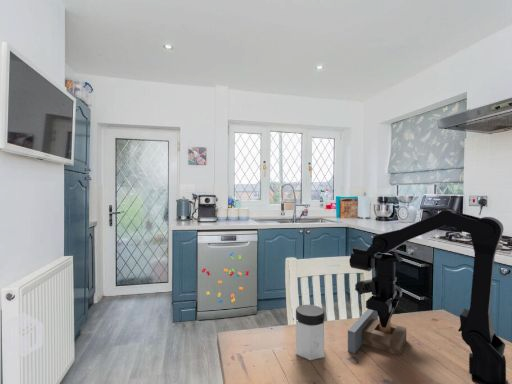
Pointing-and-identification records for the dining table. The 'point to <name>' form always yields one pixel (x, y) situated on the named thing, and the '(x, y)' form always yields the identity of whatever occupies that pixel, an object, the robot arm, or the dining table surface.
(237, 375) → the dining table surface
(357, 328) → the bar
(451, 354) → the dining table surface
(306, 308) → the jar
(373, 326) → the block
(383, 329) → the dowel
